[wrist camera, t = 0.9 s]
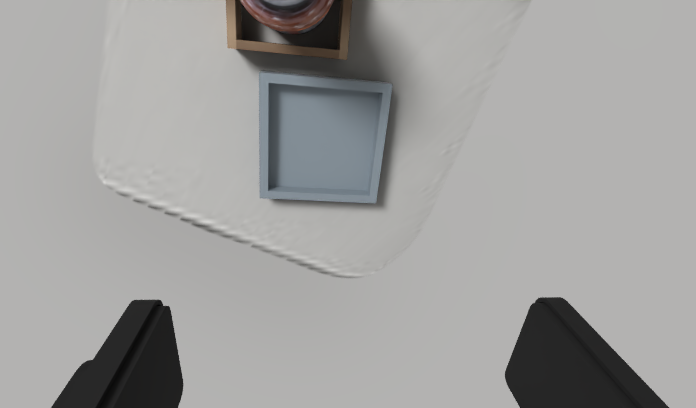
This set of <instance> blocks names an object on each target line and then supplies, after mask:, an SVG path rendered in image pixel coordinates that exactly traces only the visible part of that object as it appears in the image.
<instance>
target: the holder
mask: <svg viewBox="0 0 696 408" xmlns="http://www.w3.org/2000/svg"><path fill="white" fill-rule="evenodd" d="M351 8H352V0H341V4H340V17H339V30H338V43H337V50H335V49H326V48H316V47H306V46H297V45H287V44H277V43H268V42H258V41H248V40H242V22H241V1H240V0H226V16H227V42H228V48H233V49H243V50H253V51H263V52H273V53H283V54H293V55H303V56H313V57H323V58H333V59H343V60H347V54H348V42H349V31H350V19H351Z"/></svg>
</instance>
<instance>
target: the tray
mask: <svg viewBox="0 0 696 408" xmlns="http://www.w3.org/2000/svg"><path fill="white" fill-rule="evenodd" d="M392 86H393V84H391V83H389V82H380V81H370V80H359V79H348V78H337V77H326V76H316V75H305V74H294V73H283V72H272V71H260V72H259V144H260V198H268V199H291V200H313V201H335V202H358V203H376V200H377V193H378V186H379V179H380V172H381V165H382V157H383V150H384V143H385V136H386V129H387V122H388V115H389V107H390V100H391V93H392Z"/></svg>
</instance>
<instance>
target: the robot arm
mask: <svg viewBox="0 0 696 408" xmlns="http://www.w3.org/2000/svg"><path fill="white" fill-rule="evenodd" d="M505 379H506V382H507V385H508V387H509V389H510V391H511V392H512V394H513V396H514V398H515V399H516V401H517V403H518V405H519V406H520V408H669V407H668V406H667V405H666V404H665V403H664V402H663V401H662V400H661V399H660V398H659V397H658V396H657V395H656V394H655V392H654V391H653V390H652V389H651V388H650V387H649V386H648V385H647V384H646V383H645V382H644V381H643V380H642V379H641V378H640V377H639V376H638V375H637V374H636V373H635V372H634V371H633V370H632V369H631V367H629V365H627V363H626V362H625V361H624V360H623V359H622V358H621V357H620V356H619V355H618V354H617V353H616V352H615V351H614V350H613V349H612V348H611V347H610V346H609V345H608V344H607V343H606V341H605V340H604V339H603V338H602V337H601V336H600V335H599V334H598V333H597V332H596V331H595V330H594V329H593V328H592V327H591V326H590V325H589V324H588V323H587V322H586V321H585V320H584V318H582V316H580V314H579V313H578V312H577V311H576V310H575V309H574V308H573V307H572V306H571V305H570V304H569V303H568V302H567V301H566V300H565V299H563V298H560V297H559V298H558V297H557V298H538V299H537V300H536V302H535V303H533V304H532V305H531V306H530V309H529V311H528V314H527V316H526V319H525V322H524V324H523V327H522V329H521V332H520V335H519V337H518V340H517V343H516V345H515V348H514V350H513V353H512V355H511V358H510V361H509V363H508V366H507V368H506V371H505ZM182 391H183V379H182V373H181V367H180V361H179V355H178V350H177V344H176V338H175V333H174V328H173V321H172V316H171V310H170V307H169V306H163V304H162V302H161V300H134V301H132V302H131V303H130V304H129V306H128V307H127V309H126V310H125V312H124V313H123V315H122V316H121V318H120V319H119V321H118V323H117V324H116V325H115V327H114V329H113V330H112V332H111V333H110V335H109V336H108V338H107V339H106V341H105V342H104V344H103V345H102V347H101V349H100V350H99V351H98V353H97V354H96V356H95V358H94V359H93V360H89V361H86V362H85V363H83V364H82V365H81V366H80V367H79V368H78V369H77V371H76V372H75V373H74V375H73V376H72V378H71V379H70V381H69V382H68V384H67V385H66V387H65V388H64V390H63V391H62V393H61V394H60V395H59V397H58V398H57V400H56V401H55V403H54V404H53V406H52V408H178V405H179V402H180V400H181V396H182Z"/></svg>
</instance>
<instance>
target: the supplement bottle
mask: <svg viewBox="0 0 696 408" xmlns="http://www.w3.org/2000/svg"><path fill="white" fill-rule="evenodd" d="M240 1H241V3H242V5H243V6H244V7H245V9H246V10H247V11H248V12H249V13H250V14H251V15H252V16H253V17H254V18H255V19H256V20H258V21H259V22H261V23H262V24H264V25H266V26H268V27H270V28H272V29H274V30H276V31H279V32H281V33H285V34H303V33H306V32H309V31H311V30H313V29H314V28H315V27H317V26H318V25H319V24H320V23H321V22H322V21H323V19H324V18H325V17H326V15H327V13H328V11H329V9H330V7H331V5H332V3H333V1H334V0H240Z"/></svg>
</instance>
